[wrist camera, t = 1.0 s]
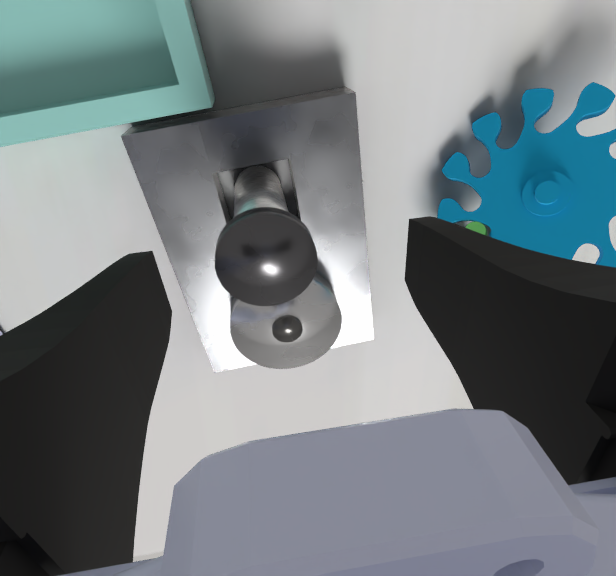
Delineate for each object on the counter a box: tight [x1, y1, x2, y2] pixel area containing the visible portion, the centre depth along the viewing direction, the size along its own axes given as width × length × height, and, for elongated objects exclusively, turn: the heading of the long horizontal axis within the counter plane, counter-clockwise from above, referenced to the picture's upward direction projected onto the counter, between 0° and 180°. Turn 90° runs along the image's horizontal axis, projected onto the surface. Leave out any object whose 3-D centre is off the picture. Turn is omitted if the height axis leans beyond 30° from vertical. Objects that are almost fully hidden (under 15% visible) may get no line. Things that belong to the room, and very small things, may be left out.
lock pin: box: [215, 166, 318, 306], centre depth 17 cm, size 4×4×8 cm
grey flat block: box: [121, 87, 374, 373], centre depth 21 cm, size 10×14×4 cm
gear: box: [437, 82, 616, 267], centre depth 21 cm, size 11×6×10 cm
